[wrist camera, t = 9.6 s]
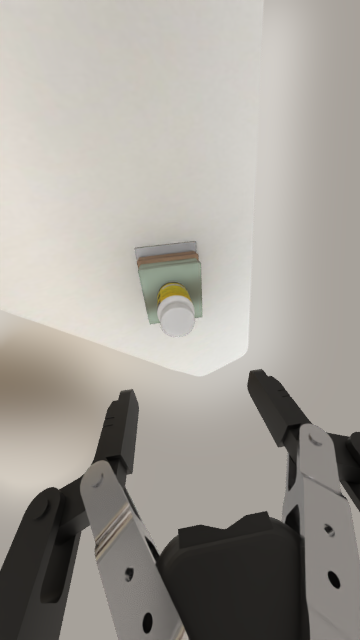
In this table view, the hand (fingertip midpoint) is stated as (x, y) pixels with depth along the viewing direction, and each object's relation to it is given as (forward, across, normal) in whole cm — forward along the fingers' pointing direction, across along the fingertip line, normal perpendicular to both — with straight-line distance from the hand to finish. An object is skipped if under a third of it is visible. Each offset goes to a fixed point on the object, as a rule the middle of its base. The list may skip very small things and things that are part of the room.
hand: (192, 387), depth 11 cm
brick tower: (+26, 0, 0) cm, 26 cm away
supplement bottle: (+17, 0, 0) cm, 17 cm away
